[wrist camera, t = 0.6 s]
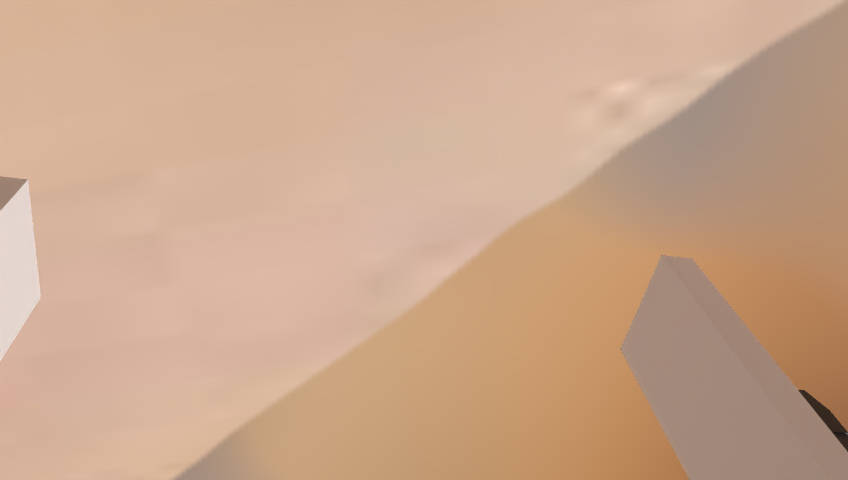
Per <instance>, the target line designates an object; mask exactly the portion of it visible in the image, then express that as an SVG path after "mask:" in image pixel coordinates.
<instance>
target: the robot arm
mask: <svg viewBox="0 0 848 480" xmlns="http://www.w3.org/2000/svg"><path fill="white" fill-rule="evenodd" d="M40 298H41V295H40V286H39V277H38V268H37V259H36V249H35V240H34V231H33V222H32V213H31V204H30V194H29V185H28V180H26V179H17V178H9V177H0V361H1V359H2V358H3V356H4V354H5V353H6V351H7V350H8V348H9V347H10V345H11V343H12V342H13V340H14V339H15V337H16V336H17V334H18V332H19V331H20V329H21V328H22V326H23V325H24V323H25V321H26V320H27V318H28V317H29V315H30V314H31V312H32V310H33V309H34V307H35V306H36V304H37V302H38V301H39V299H40ZM621 351H622V353H623V355H624V357H625V359H626V361H627V363H628V364H629V366H630V368H631V370H632V372H633V374H634V376H635V378H636V380H637V381H638V383H639V385H640V387H641V389H642V391H643V393H644V395H645V397H646V398H647V400H648V402H649V404H650V406H651V408H652V410H653V412H654V414H655V415H656V417H657V419H658V421H659V423H660V425H661V427H662V429H663V431H664V432H665V434H666V436H667V438H668V440H669V442H670V444H671V445H672V447H673V449H674V451H675V453H676V455H677V457H678V459H679V460H680V462H681V465H682V466H683V468H684V470H685V472H686V474H687V476H688V478H689V479H690V480H848V432H847V431H846V430H845V428H844V427H843V426H842V425H841V424H840V422H839V421H838V420H837V419H836V417H835V416H834V415H833V414H832V413H831V412H830V410H828V409H827V408H826V407H825V406H823V405H822V404H821V403H820V402H818V401H817V400H816V399H815V398H813V397H812V396H811V395H809V394H808V393H807V392H806V391H804V390H797V388H796V387H795V386H794V384H793V383H792V382H791V381H790V379H789V378H788V377H787V376H786V374H785V373H784V372H783V371H782V370H781V368H780V367H779V366H778V365H777V363H776V362H775V361H774V360H773V359H772V357H771V356H770V355H769V353H768V352H767V351H766V350H765V348H764V347H763V346H762V345H761V343H760V342H759V341H758V340H757V338H756V337H755V336H754V335H753V334H752V332H751V331H750V330H749V329H748V327H747V326H746V325H745V324H744V322H743V321H742V320H741V319H740V317H739V316H738V315H737V314H736V313H735V311H734V310H733V309H732V307H731V306H730V305H729V304H728V302H727V301H726V300H725V299H724V298H723V296H722V295H721V294H720V292H719V291H718V290H717V289H716V287H715V286H714V285H713V284H712V283H711V281H710V280H709V279H708V278H707V276H706V275H705V274H704V273H703V271H702V270H701V269H700V268H699V266H698V265H697V264H696V263H695V261H694V260H693V259H690V258H681V257H673V256H665V255H661V258H660V260H659V262H658V265H657V267H656V270H655V271H654V274H653V276H652V278H651V281H650V283H649V285H648V288H647V290H646V292H645V294H644V297H643V299H642V301H641V303H640V306H639V308H638V310H637V313H636V315H635V317H634V319H633V322H632V324H631V326H630V329H629V331H628V333H627V335H626V337H625V340H624V342H623V344H622V347H621Z"/></svg>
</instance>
